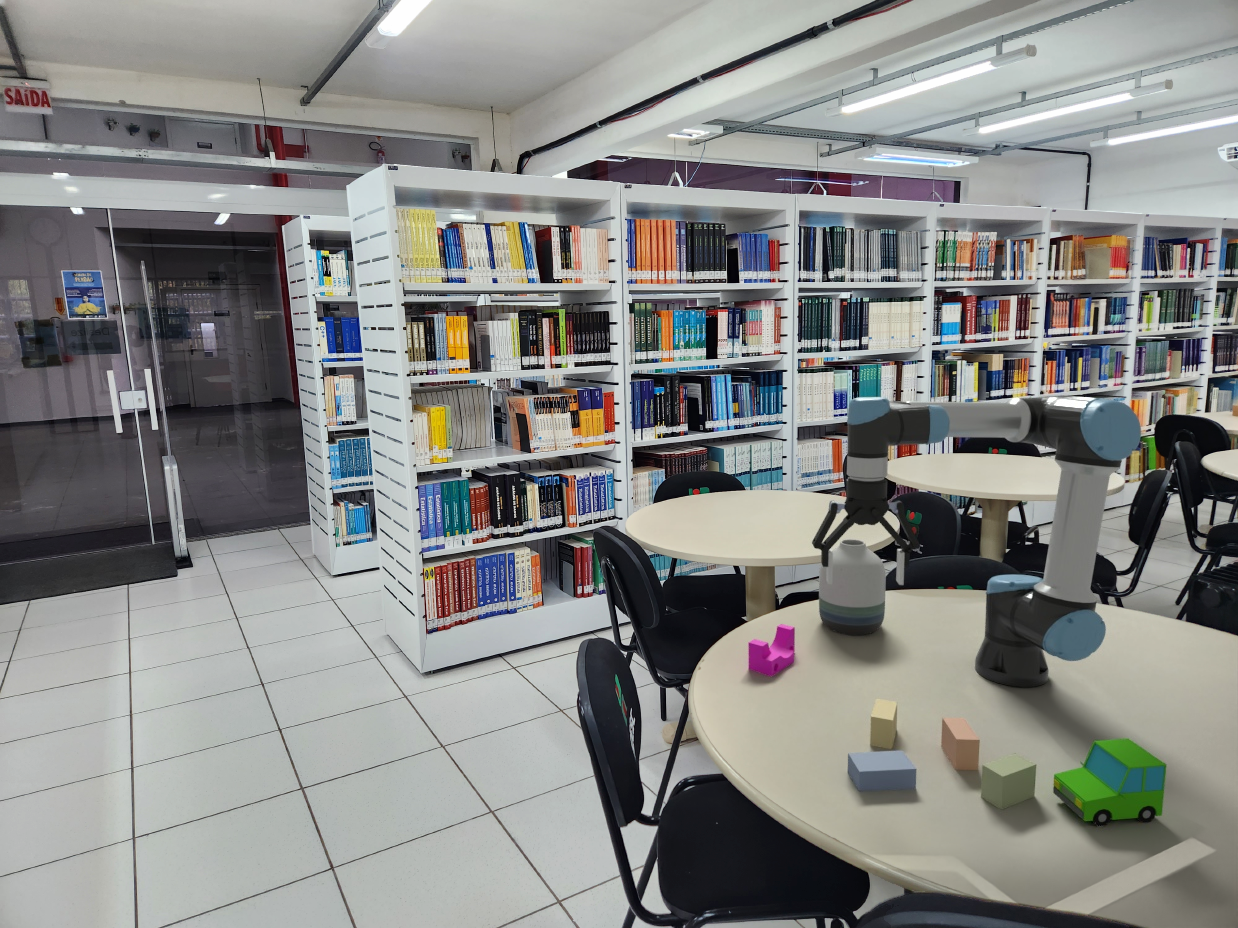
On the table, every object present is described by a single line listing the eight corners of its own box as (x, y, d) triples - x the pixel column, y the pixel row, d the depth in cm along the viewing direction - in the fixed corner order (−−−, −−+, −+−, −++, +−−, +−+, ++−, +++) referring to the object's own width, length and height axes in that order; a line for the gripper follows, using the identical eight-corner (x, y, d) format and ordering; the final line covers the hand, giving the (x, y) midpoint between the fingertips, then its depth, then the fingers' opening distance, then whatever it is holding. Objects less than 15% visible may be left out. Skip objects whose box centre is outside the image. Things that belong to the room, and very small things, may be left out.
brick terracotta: (941, 746, 146) (942, 717, 145) (962, 747, 146) (964, 717, 145) (955, 769, 138) (956, 739, 137) (978, 770, 138) (979, 739, 137)
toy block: (771, 679, 177) (771, 648, 176) (748, 672, 181) (748, 642, 180) (803, 658, 188) (803, 629, 187) (781, 652, 192) (781, 623, 191)
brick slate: (902, 770, 139) (902, 750, 138) (915, 789, 133) (916, 768, 132) (847, 773, 139) (848, 752, 138) (858, 792, 133) (859, 771, 132)
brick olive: (1013, 784, 133) (1015, 752, 132) (1034, 796, 130) (1036, 764, 129) (980, 797, 130) (982, 764, 129) (1001, 809, 127) (1002, 776, 126)
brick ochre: (875, 726, 155) (876, 698, 154) (896, 729, 153) (897, 701, 152) (870, 745, 148) (870, 716, 147) (892, 749, 146) (892, 720, 145)
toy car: (1045, 795, 130) (1049, 740, 129) (1119, 789, 131) (1123, 735, 130) (1087, 833, 120) (1091, 774, 118) (1166, 826, 121) (1171, 768, 120)
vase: (815, 616, 215) (816, 533, 211) (877, 617, 213) (879, 534, 209) (822, 640, 199) (823, 550, 195) (890, 641, 196) (892, 551, 192)
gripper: (928, 473, 151) (924, 577, 154) (799, 474, 153) (798, 576, 157) (939, 480, 143) (935, 589, 147) (803, 481, 146) (802, 587, 149)
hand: (864, 582), depth 152 cm, fingers open, 13 cm apart
